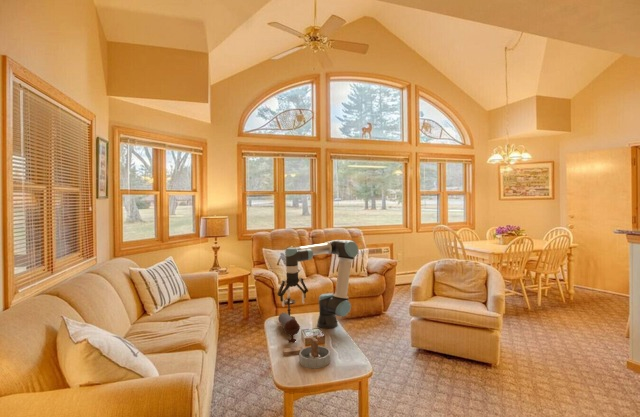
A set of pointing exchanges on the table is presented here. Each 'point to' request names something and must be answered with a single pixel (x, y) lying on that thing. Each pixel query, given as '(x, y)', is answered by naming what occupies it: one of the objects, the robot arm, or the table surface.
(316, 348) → the wick slat
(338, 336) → the table surface
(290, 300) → the candlestick
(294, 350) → the slat
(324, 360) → the grey pet bowl
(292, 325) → the ice cream bowl
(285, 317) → the bluetooth speaker
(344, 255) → the robot arm
